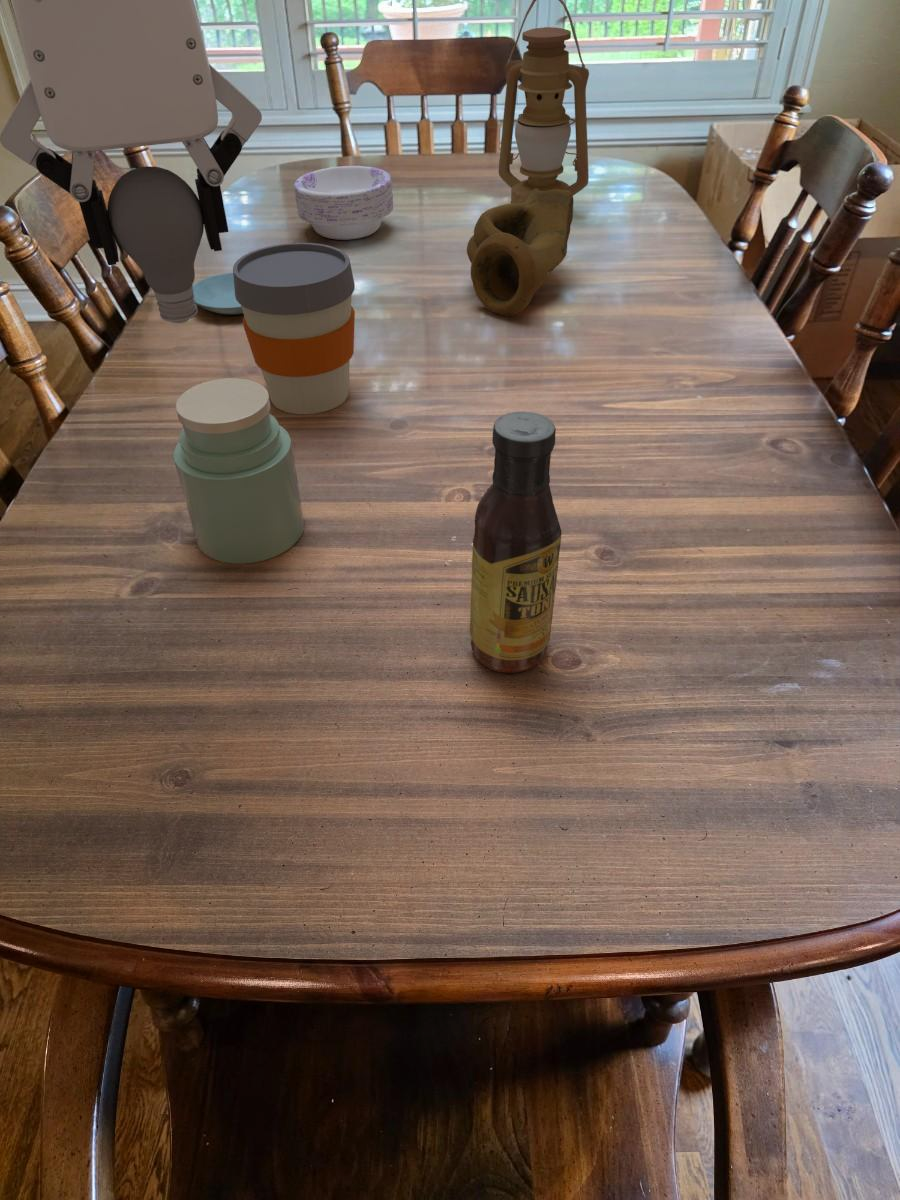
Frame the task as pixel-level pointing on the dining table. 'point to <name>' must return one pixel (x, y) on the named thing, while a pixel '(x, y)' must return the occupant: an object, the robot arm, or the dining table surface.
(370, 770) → the dining table surface
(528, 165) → the lantern
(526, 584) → the sauce bottle
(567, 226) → the brown looped sculpture
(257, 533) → the green lidded jar
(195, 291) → the saucer
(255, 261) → the reusable coffee cup
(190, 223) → the light bulb
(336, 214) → the paper bowls
